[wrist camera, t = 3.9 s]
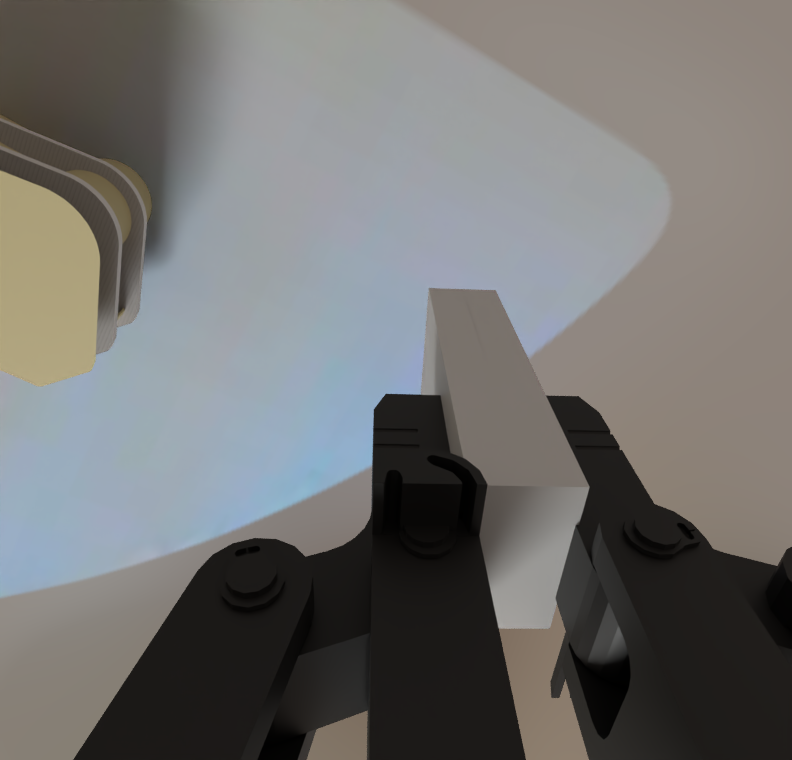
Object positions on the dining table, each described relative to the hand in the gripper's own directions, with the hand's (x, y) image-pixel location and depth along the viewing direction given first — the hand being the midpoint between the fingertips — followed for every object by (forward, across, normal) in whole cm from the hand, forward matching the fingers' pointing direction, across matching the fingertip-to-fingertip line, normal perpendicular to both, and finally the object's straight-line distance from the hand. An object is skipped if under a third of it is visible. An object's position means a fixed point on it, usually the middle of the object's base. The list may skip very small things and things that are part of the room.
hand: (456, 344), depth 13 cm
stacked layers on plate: (+9, -12, +1) cm, 15 cm away
